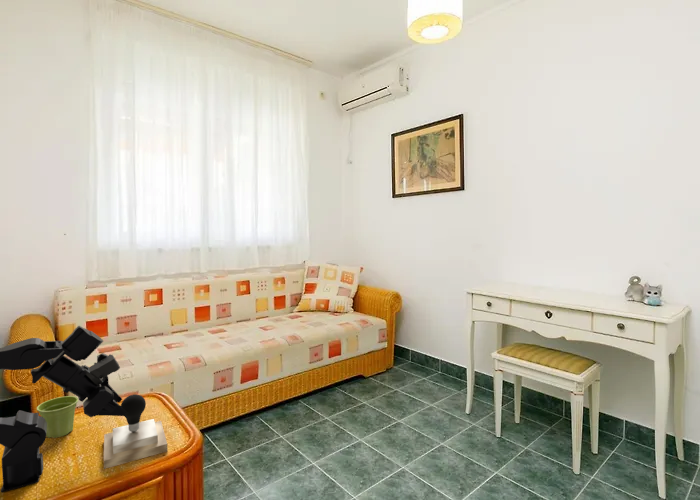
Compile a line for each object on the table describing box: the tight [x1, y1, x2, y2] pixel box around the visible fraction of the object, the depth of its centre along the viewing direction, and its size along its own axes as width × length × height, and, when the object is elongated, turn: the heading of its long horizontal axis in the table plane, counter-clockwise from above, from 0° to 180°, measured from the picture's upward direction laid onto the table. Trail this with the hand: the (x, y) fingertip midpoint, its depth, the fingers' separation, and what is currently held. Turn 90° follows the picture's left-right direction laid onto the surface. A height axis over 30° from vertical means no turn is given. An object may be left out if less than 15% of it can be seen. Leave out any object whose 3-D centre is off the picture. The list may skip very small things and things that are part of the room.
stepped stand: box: [103, 418, 168, 470], centre depth 103 cm, size 14×14×4 cm
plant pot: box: [36, 395, 79, 439], centre depth 110 cm, size 9×9×9 cm
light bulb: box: [120, 393, 147, 432], centre depth 103 cm, size 6×6×10 cm
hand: (123, 407), depth 101 cm, fingers open, 9 cm apart
